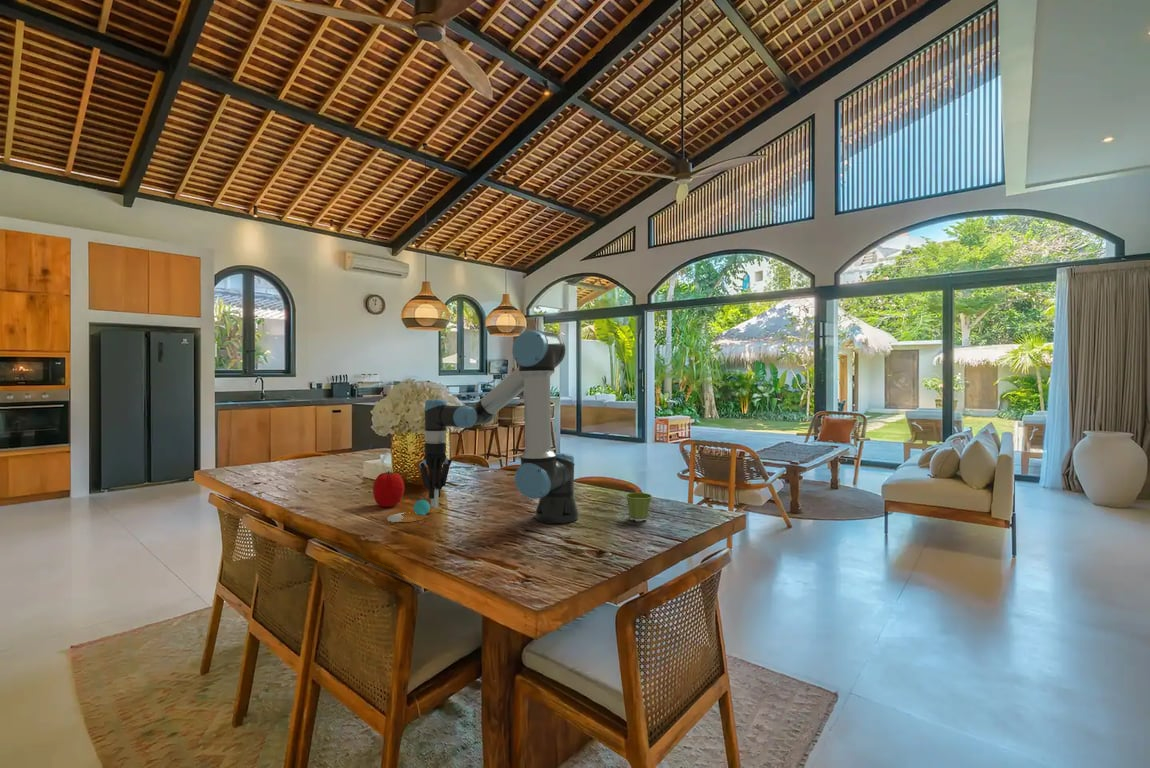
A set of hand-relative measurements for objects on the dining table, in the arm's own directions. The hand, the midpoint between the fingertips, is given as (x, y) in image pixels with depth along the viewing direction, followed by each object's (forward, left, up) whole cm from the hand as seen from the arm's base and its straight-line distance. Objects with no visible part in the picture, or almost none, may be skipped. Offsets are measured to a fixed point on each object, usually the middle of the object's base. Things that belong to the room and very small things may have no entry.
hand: (434, 506), depth 192 cm
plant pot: (-73, -11, -2) cm, 73 cm away
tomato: (+20, -3, -2) cm, 21 cm away
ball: (+2, +5, +1) cm, 6 cm away
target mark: (+5, +10, -2) cm, 11 cm away
